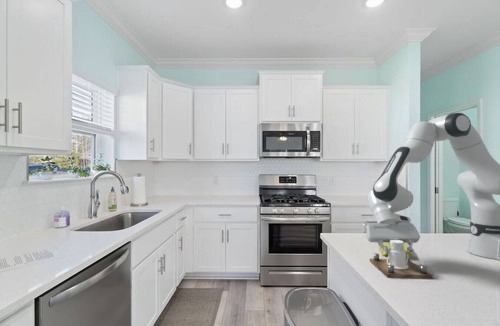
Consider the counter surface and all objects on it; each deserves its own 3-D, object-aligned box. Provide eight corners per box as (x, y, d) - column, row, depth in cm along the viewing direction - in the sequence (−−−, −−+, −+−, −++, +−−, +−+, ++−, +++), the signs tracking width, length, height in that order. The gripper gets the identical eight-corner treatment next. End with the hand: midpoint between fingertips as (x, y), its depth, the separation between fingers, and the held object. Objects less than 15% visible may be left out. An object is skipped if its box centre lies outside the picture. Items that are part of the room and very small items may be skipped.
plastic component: (413, 254, 111) (390, 243, 113) (405, 268, 112) (382, 256, 115) (402, 239, 130) (383, 229, 132) (395, 251, 131) (376, 241, 134)
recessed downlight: (403, 263, 104) (402, 238, 104) (413, 269, 97) (411, 243, 97) (383, 263, 105) (382, 239, 105) (391, 270, 98) (390, 244, 98)
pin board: (408, 262, 108) (408, 253, 108) (432, 278, 92) (432, 268, 92) (369, 261, 109) (369, 252, 109) (387, 277, 93) (387, 267, 93)
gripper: (364, 217, 109) (374, 247, 99) (413, 217, 108) (428, 247, 98) (360, 225, 113) (369, 254, 104) (407, 225, 112) (421, 255, 102)
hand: (398, 251), depth 101 cm, fingers open, 8 cm apart
